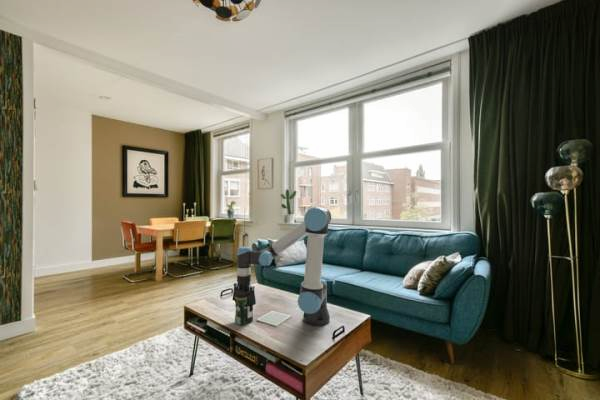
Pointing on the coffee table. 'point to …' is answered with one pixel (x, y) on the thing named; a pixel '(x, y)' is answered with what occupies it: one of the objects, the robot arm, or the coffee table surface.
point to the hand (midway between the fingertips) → (243, 315)
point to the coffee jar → (242, 307)
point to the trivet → (274, 318)
